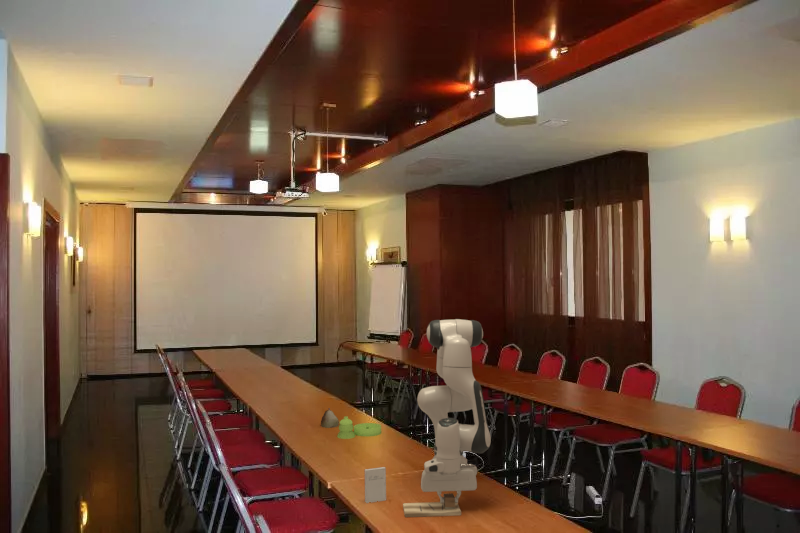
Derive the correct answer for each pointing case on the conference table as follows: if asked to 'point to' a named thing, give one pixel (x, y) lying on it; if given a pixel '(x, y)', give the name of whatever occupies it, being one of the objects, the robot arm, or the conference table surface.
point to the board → (429, 509)
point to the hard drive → (375, 484)
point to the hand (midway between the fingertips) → (449, 502)
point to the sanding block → (449, 501)
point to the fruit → (329, 419)
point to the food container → (357, 429)
